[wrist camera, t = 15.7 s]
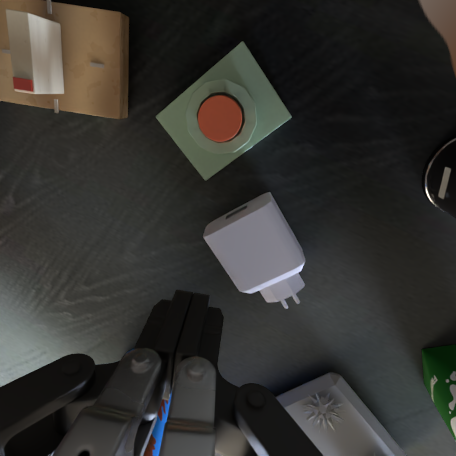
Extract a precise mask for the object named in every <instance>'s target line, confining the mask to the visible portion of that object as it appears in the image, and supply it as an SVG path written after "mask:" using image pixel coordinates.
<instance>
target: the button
mask: <svg viewBox="0 0 456 456" xmlns="http://www.w3.org/2000/svg"><path fill="white" fill-rule="evenodd" d="M198 123H199V127H200V129H201V131H202V132H203V134H204V135H205V136H206V137H208V138H209V139H211V140H213V141H217V142H223V141H227V140H229V139H231V138H233V137H234V136H235V135H236V134H237V132H238V131H239V129H240V126H241V123H242V112H241V109H240V107H239V105H238V104H237V102H236V101H235V100H233V99H232V98H230V97H228V96H224V95H217V96H213V97H210V98H209V99H207V100H206V101H205V102H204V103H203V104H202V106H201V107H200V110H199V113H198Z"/></svg>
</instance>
